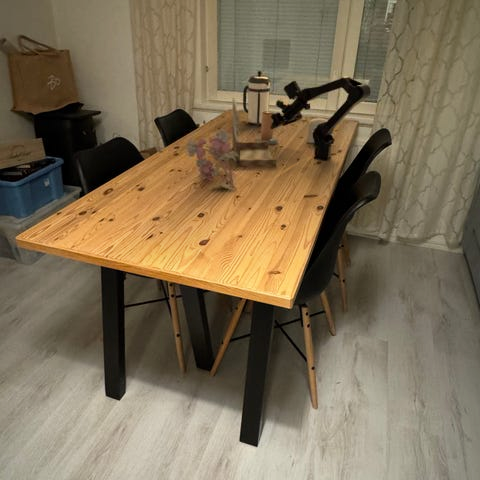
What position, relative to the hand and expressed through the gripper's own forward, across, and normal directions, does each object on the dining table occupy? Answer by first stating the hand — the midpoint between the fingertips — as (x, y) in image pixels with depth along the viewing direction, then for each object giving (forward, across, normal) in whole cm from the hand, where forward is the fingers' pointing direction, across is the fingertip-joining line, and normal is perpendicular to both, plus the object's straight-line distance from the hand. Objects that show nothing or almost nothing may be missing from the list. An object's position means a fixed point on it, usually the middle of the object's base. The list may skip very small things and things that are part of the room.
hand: (276, 126), depth 201 cm
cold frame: (+2, +24, +11) cm, 27 cm away
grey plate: (+11, 0, +2) cm, 11 cm away
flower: (-4, +59, +18) cm, 61 cm away
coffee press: (+32, -25, -19) cm, 45 cm away
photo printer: (-2, -19, +15) cm, 25 cm away
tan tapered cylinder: (+10, 0, 0) cm, 10 cm away
